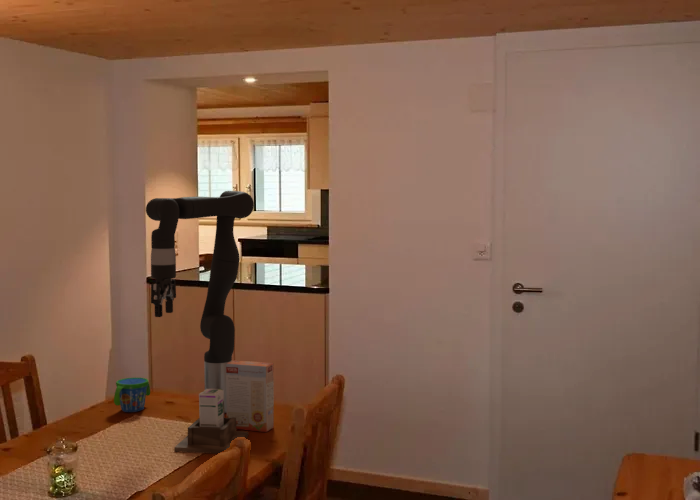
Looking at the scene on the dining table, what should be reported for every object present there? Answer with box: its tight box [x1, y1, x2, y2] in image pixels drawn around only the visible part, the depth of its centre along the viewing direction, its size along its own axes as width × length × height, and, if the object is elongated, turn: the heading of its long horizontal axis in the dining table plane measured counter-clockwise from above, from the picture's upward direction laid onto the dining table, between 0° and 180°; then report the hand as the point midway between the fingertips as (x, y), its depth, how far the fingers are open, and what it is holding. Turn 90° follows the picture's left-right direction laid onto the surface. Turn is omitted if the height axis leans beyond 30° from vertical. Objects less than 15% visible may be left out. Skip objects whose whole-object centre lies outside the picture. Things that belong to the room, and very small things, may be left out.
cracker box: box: [226, 360, 275, 433], centre depth 236 cm, size 14×6×21 cm, turn 71°
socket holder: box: [173, 417, 249, 455], centre depth 222 cm, size 17×17×6 cm
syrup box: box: [198, 389, 225, 428], centre depth 221 cm, size 6×6×14 cm
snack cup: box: [113, 377, 151, 413], centre depth 256 cm, size 16×10×10 cm
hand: (164, 314), depth 233 cm, fingers open, 8 cm apart
